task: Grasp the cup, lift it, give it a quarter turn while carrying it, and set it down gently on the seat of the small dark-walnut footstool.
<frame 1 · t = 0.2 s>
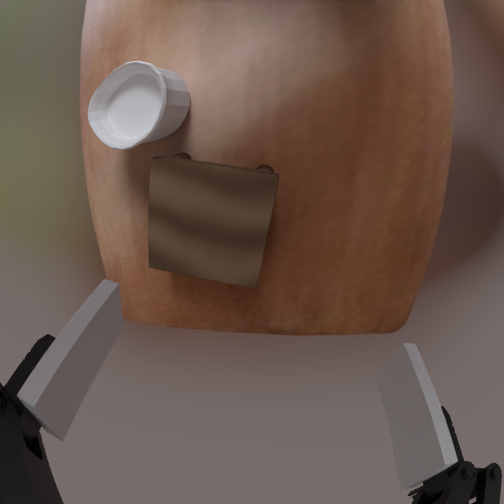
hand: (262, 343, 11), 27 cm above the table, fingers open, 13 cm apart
cup: (158, 105, 32), on the table
footstool: (217, 205, 38), on the table
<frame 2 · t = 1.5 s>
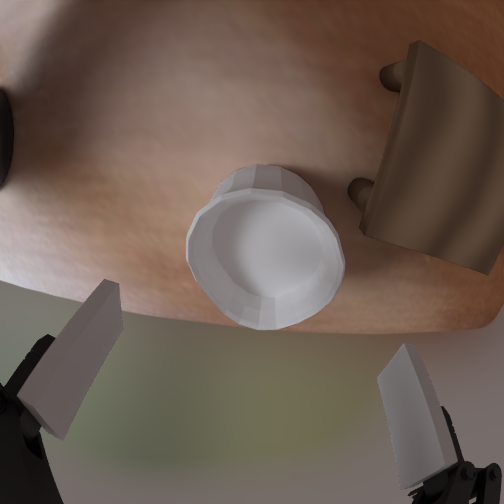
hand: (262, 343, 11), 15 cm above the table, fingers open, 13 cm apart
cup: (267, 214, 25), on the table
footstool: (426, 155, 21), on the table
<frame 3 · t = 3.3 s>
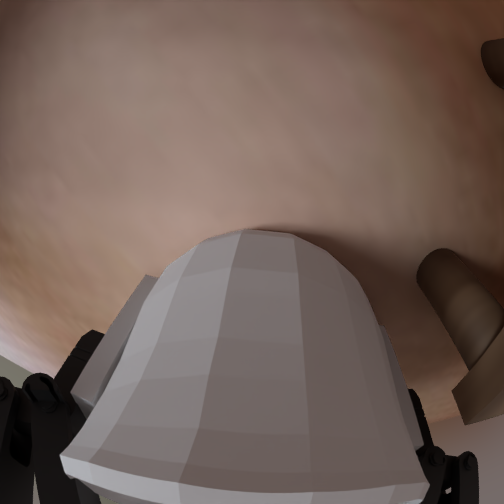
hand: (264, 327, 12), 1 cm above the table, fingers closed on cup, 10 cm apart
cup: (264, 314, 13), on the table, touching gripper
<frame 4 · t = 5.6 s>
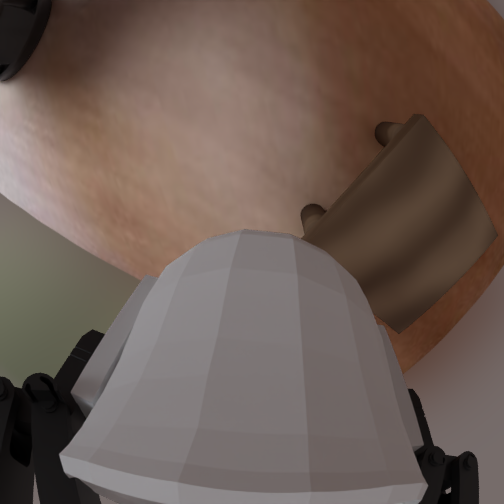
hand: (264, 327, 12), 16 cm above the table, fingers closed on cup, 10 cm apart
cup: (264, 314, 13), point 15 cm above the table, touching gripper
footstool: (386, 210, 26), on the table
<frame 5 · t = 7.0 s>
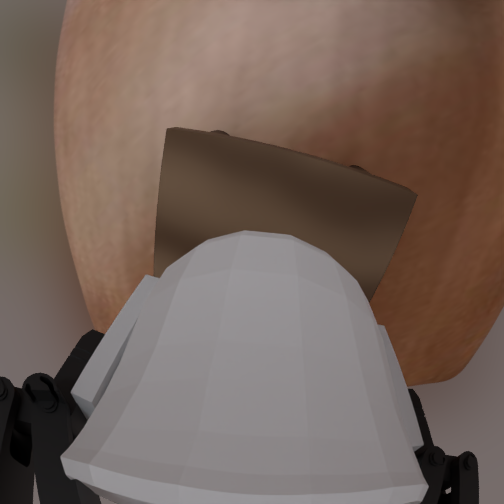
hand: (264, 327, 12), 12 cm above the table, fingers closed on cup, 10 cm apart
cup: (264, 315, 13), point 11 cm above the table, touching gripper
footstool: (270, 224, 23), on the table
when the fingers open (10 cm above the table, at t = 7.9 s): cup drops 1 cm, resting on footstool.
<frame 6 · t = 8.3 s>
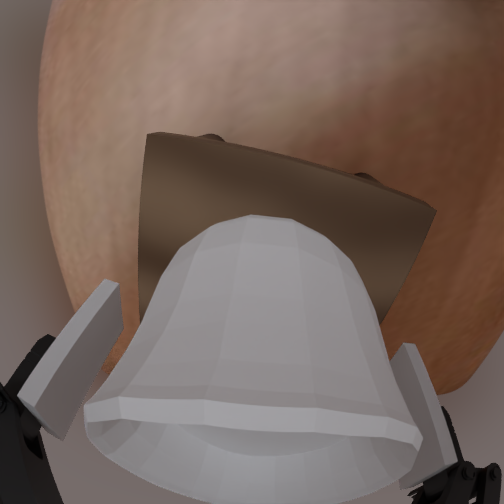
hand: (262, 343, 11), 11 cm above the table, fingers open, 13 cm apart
cup: (267, 295, 14), point 7 cm above the table, touching footstool
footstool: (269, 238, 21), on the table
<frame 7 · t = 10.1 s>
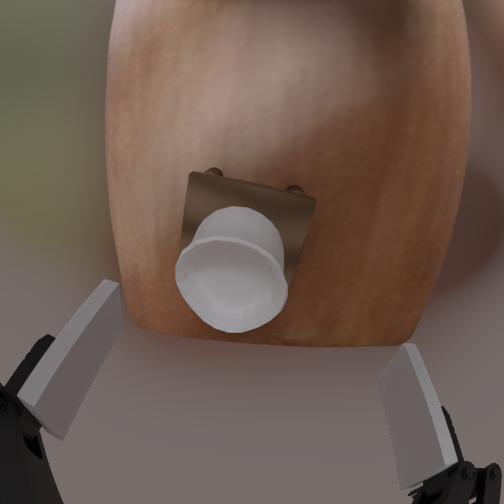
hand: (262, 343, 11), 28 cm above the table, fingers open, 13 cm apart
cup: (241, 243, 32), point 7 cm above the table, touching footstool
footstool: (246, 222, 39), on the table
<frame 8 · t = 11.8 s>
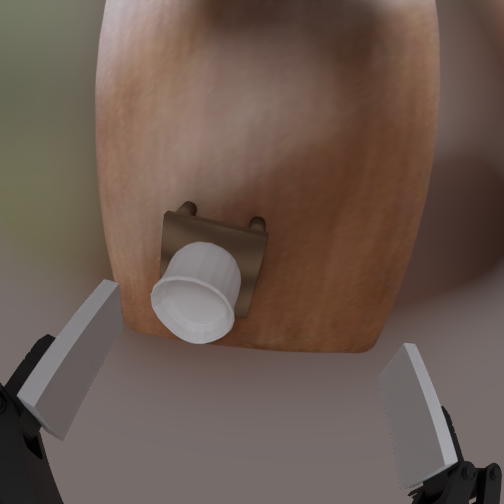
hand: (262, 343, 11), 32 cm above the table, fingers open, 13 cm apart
cup: (208, 269, 39), point 7 cm above the table, touching footstool
footstool: (217, 246, 45), on the table
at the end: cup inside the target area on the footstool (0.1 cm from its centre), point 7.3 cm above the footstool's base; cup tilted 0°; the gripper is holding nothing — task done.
